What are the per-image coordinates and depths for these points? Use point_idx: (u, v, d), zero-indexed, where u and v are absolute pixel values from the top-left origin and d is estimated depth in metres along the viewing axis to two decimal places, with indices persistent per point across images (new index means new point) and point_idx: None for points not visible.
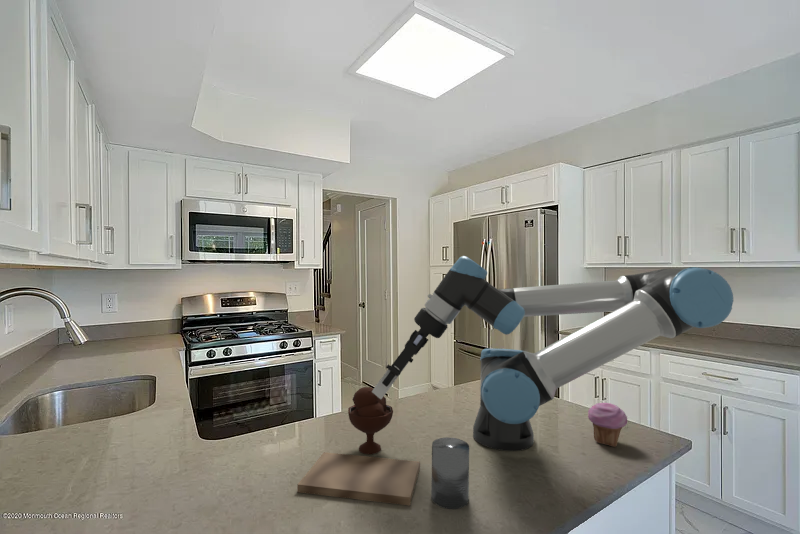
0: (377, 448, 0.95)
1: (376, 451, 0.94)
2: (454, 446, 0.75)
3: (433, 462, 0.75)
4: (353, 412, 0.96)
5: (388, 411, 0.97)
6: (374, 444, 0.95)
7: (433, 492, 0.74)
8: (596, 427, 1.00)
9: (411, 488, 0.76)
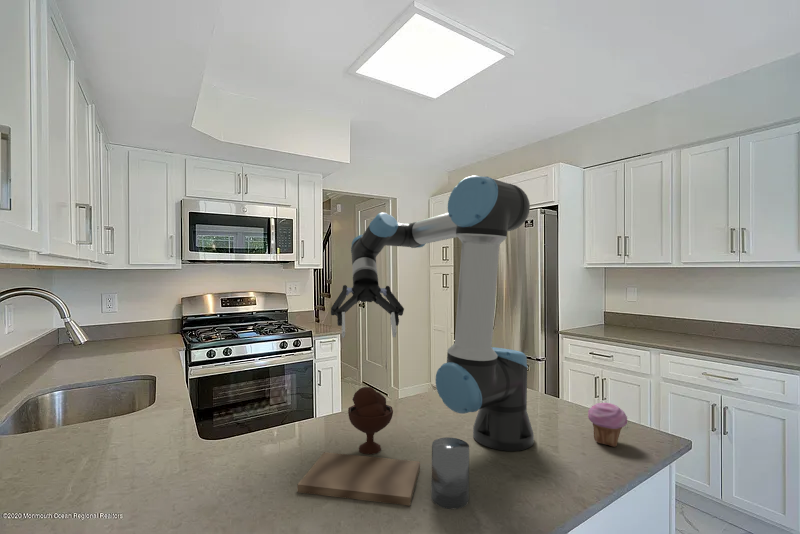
0: (377, 448, 0.95)
1: (376, 451, 0.94)
2: (454, 446, 0.75)
3: (433, 462, 0.75)
4: (353, 412, 0.96)
5: (388, 411, 0.97)
6: (374, 444, 0.95)
7: (433, 492, 0.74)
8: (596, 427, 1.00)
9: (411, 488, 0.76)
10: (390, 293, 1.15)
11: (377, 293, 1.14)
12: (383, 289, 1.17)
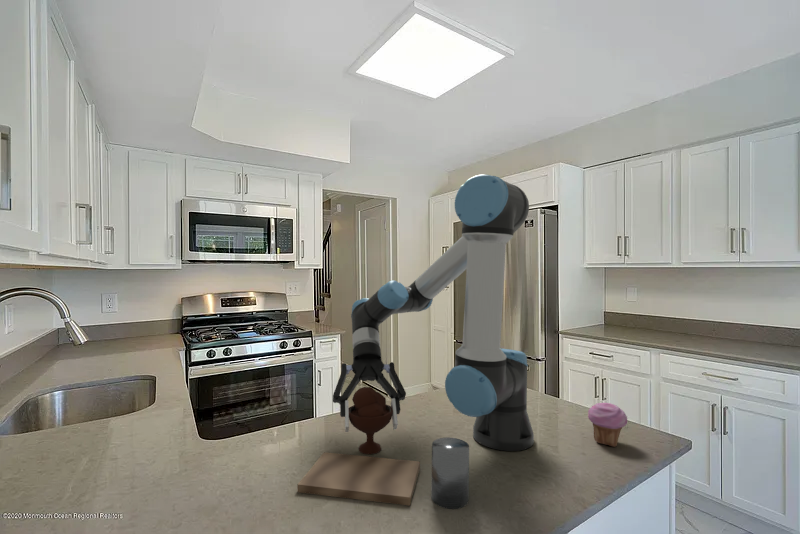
0: (377, 448, 0.95)
1: (376, 451, 0.94)
2: (454, 446, 0.75)
3: (433, 462, 0.75)
4: (353, 412, 0.96)
5: (388, 411, 0.97)
6: (374, 444, 0.95)
7: (433, 492, 0.74)
8: (596, 427, 1.00)
9: (411, 488, 0.76)
10: (393, 372, 1.03)
11: (380, 371, 1.02)
12: (387, 365, 1.05)
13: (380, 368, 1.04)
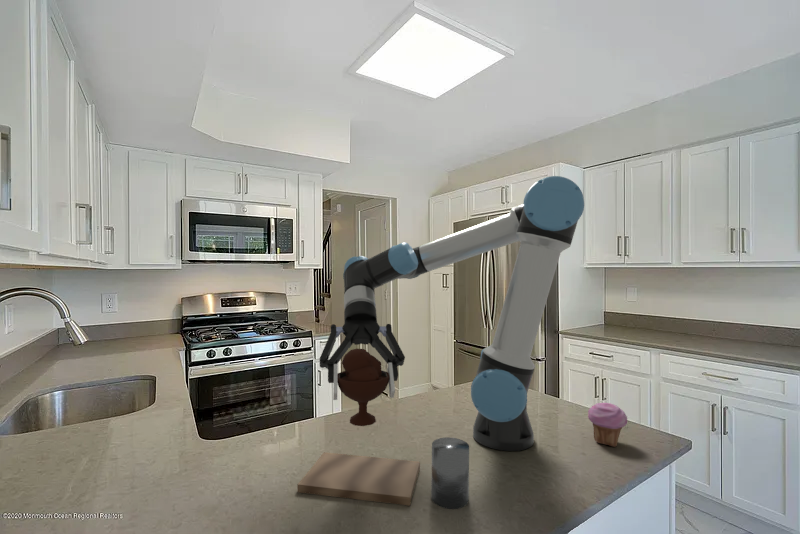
0: (371, 419, 0.81)
1: (370, 423, 0.80)
2: (454, 446, 0.75)
3: (433, 462, 0.75)
4: (343, 378, 0.82)
5: (384, 377, 0.83)
6: (367, 415, 0.81)
7: (433, 492, 0.74)
8: (596, 427, 1.00)
9: (411, 488, 0.76)
10: (390, 334, 0.89)
11: (375, 333, 0.88)
12: (383, 328, 0.91)
13: (375, 330, 0.90)
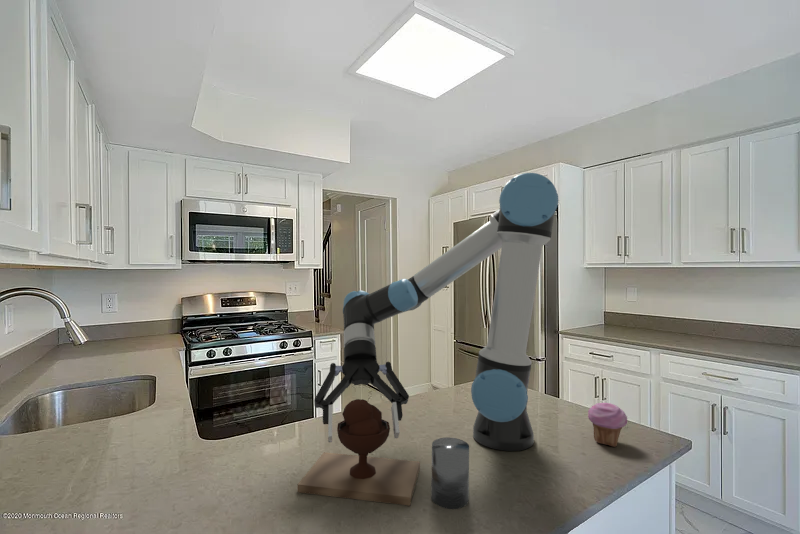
0: (371, 471, 0.81)
1: (370, 475, 0.80)
2: (454, 446, 0.75)
3: (433, 462, 0.75)
4: (343, 429, 0.82)
5: (384, 427, 0.83)
6: (368, 466, 0.81)
7: (433, 492, 0.74)
8: (596, 427, 1.00)
9: (411, 488, 0.76)
10: (391, 373, 0.89)
11: (374, 374, 0.88)
12: (382, 366, 0.91)
13: (375, 370, 0.89)
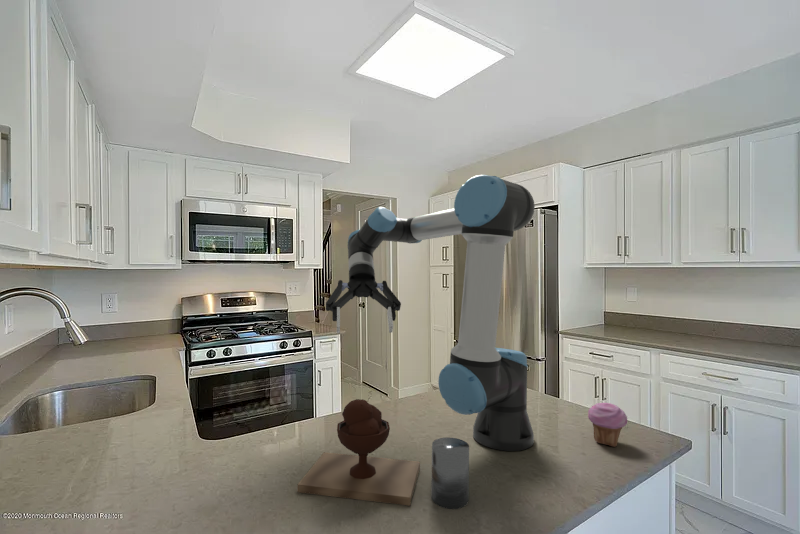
0: (371, 471, 0.81)
1: (370, 475, 0.80)
2: (454, 446, 0.75)
3: (433, 462, 0.75)
4: (343, 429, 0.82)
5: (384, 427, 0.83)
6: (367, 466, 0.81)
7: (433, 492, 0.74)
8: (596, 427, 1.00)
9: (411, 488, 0.76)
10: (387, 288, 1.12)
11: (373, 288, 1.11)
12: (380, 284, 1.14)
13: (374, 286, 1.12)
